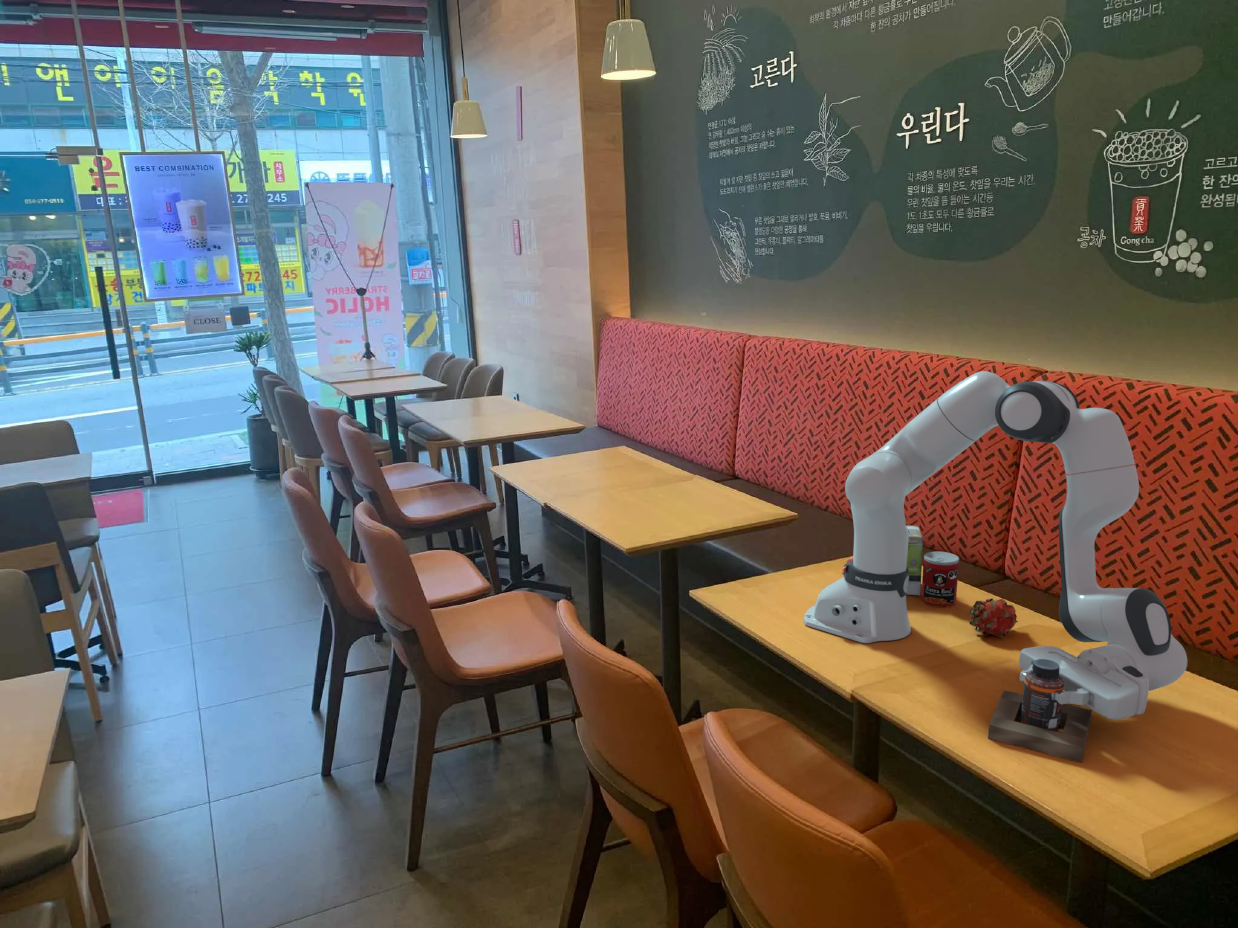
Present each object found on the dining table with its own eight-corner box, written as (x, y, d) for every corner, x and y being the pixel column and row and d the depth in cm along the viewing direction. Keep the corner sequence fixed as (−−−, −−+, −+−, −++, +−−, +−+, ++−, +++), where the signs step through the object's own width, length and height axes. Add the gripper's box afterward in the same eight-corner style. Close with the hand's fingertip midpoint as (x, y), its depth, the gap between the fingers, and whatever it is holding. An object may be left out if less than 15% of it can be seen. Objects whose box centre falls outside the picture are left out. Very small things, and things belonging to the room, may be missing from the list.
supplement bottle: (1063, 736, 144) (1071, 673, 141) (1025, 732, 145) (1031, 670, 142) (1053, 717, 150) (1060, 657, 147) (1016, 714, 151) (1022, 654, 148)
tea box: (916, 581, 216) (920, 524, 212) (920, 597, 206) (924, 537, 203) (853, 578, 219) (856, 521, 216) (854, 592, 209) (857, 533, 206)
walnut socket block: (987, 738, 146) (988, 724, 145) (1002, 702, 157) (1003, 689, 156) (1081, 762, 138) (1083, 748, 138) (1090, 723, 150) (1091, 709, 149)
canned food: (920, 605, 201) (923, 560, 199) (921, 593, 208) (924, 549, 206) (955, 609, 198) (959, 564, 196) (956, 597, 205) (959, 553, 203)
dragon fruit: (965, 644, 184) (1006, 641, 189) (995, 634, 177) (1037, 631, 182) (953, 604, 188) (994, 603, 193) (982, 593, 181) (1024, 592, 186)
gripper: (1056, 632, 159) (995, 645, 154) (1158, 682, 140) (1091, 698, 135) (1053, 664, 160) (992, 677, 156) (1153, 718, 141) (1087, 735, 137)
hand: (1039, 687), depth 145 cm, fingers closed on supplement bottle, 6 cm apart
